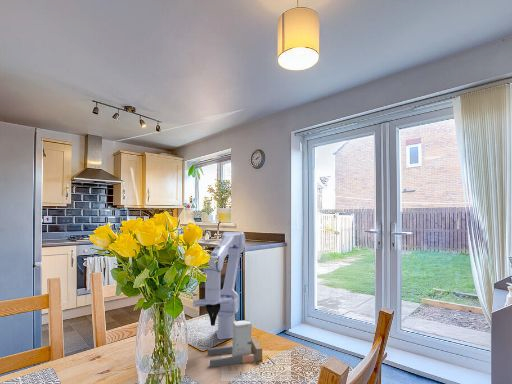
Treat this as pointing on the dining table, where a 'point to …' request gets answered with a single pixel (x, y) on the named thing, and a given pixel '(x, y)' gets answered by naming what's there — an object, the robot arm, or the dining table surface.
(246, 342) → the skincare box
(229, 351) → the guide channel
